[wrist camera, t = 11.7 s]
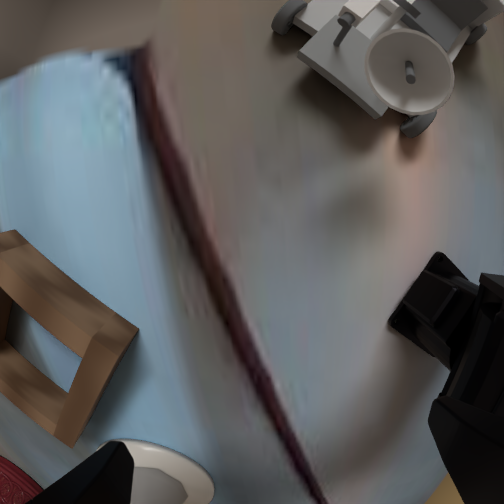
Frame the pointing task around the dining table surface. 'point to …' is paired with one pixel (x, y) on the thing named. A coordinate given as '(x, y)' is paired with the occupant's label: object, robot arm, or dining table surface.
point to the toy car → (389, 49)
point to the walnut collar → (65, 330)
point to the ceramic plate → (173, 468)
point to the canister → (16, 484)
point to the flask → (156, 488)
